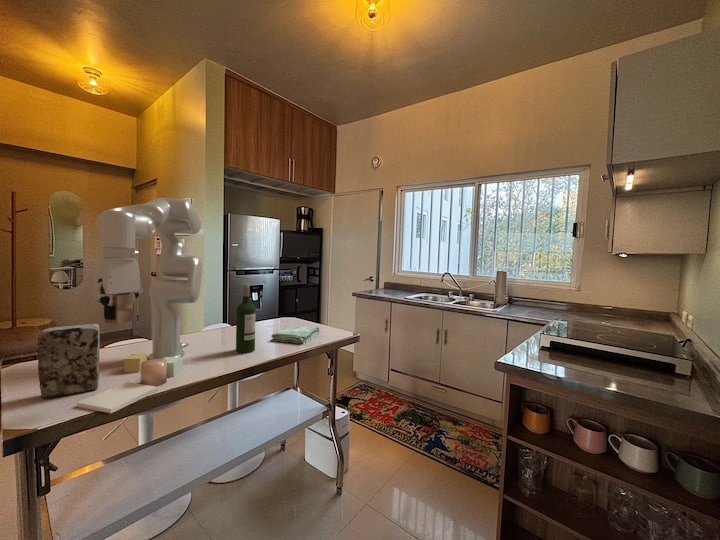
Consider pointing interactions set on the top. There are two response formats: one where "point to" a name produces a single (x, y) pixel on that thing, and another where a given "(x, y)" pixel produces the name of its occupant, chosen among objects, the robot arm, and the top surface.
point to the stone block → (68, 359)
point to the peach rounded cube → (154, 372)
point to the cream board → (117, 397)
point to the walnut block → (122, 309)
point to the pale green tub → (174, 365)
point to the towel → (295, 334)
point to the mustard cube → (134, 362)
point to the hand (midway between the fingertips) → (119, 317)
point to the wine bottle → (245, 324)
